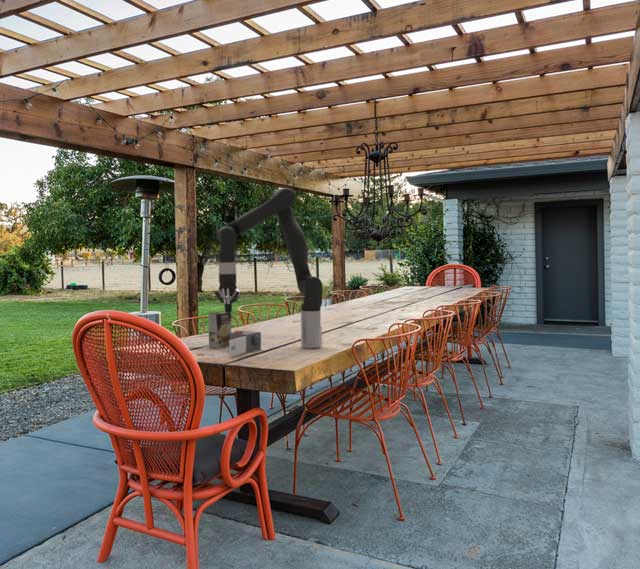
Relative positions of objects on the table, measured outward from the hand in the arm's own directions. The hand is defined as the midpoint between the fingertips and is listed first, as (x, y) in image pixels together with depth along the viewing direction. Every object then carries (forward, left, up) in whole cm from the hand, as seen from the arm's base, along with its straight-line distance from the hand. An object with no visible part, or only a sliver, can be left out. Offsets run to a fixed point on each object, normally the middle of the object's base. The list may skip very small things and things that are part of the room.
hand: (228, 312), depth 245 cm
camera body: (-12, -1, -18) cm, 22 cm away
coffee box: (-13, -18, -19) cm, 29 cm away
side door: (0, +5, -18) cm, 19 cm away
